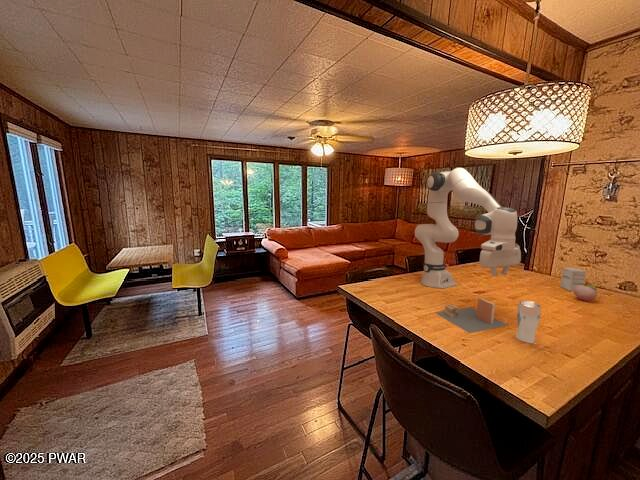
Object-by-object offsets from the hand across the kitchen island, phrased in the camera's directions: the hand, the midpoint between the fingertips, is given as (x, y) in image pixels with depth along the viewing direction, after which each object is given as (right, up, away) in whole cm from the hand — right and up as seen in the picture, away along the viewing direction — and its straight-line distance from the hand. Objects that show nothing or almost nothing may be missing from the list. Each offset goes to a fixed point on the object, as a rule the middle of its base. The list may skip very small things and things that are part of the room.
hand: (499, 275), depth 116 cm
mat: (-11, -21, +3) cm, 24 cm away
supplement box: (+73, -14, +42) cm, 85 cm away
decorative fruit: (+63, -17, +24) cm, 69 cm away
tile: (-6, -21, +1) cm, 21 cm away
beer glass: (0, -24, -14) cm, 28 cm away
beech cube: (-18, -20, +7) cm, 27 cm away
